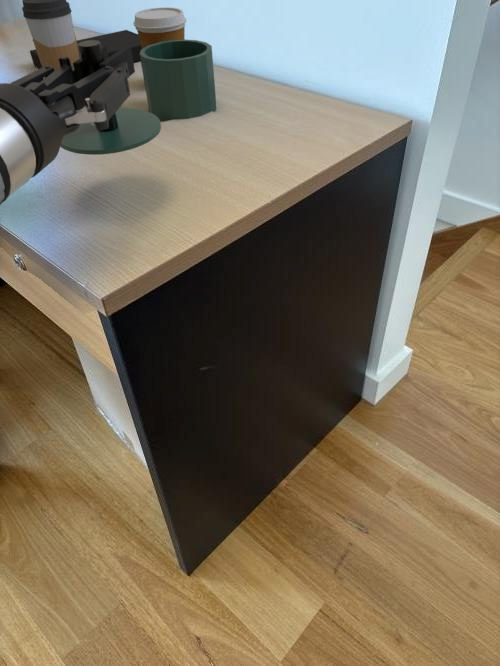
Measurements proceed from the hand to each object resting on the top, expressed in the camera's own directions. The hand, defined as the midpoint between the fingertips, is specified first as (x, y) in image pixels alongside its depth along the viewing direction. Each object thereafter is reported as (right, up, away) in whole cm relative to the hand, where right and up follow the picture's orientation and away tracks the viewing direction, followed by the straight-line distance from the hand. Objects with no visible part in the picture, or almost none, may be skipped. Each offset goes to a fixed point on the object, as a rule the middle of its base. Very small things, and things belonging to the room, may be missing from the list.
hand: (117, 59), depth 60 cm
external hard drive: (-18, +27, +52) cm, 61 cm away
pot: (+4, +7, +29) cm, 30 cm away
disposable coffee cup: (0, +16, +39) cm, 42 cm away
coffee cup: (-20, +15, +39) cm, 47 cm away
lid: (-1, -8, +1) cm, 8 cm away
